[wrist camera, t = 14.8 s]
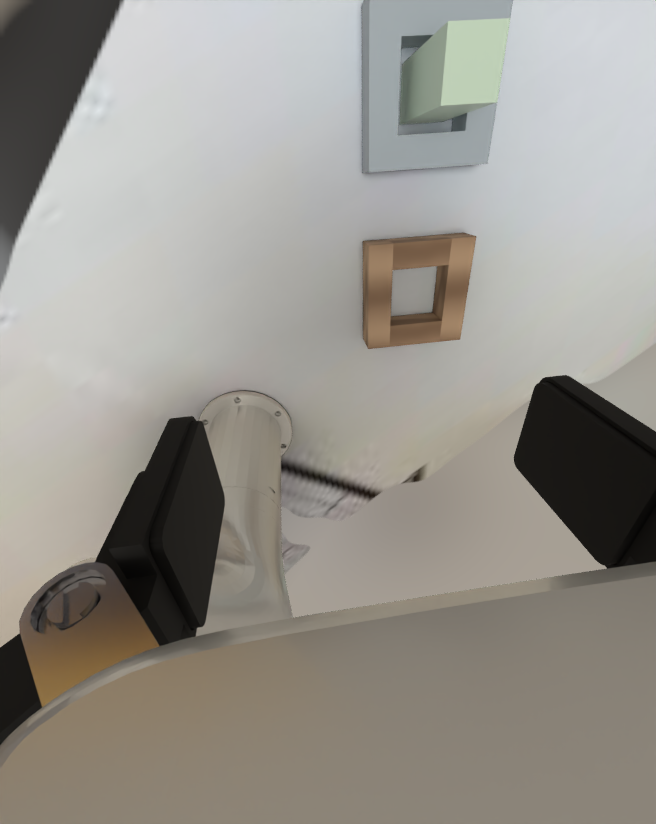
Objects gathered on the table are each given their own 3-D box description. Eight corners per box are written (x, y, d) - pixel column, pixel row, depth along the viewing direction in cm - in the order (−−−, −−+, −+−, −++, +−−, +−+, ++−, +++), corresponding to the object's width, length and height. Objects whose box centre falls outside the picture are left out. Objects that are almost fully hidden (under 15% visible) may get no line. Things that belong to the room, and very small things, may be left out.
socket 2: (449, 330, 44) (460, 339, 42) (363, 339, 44) (368, 348, 41) (463, 232, 38) (476, 236, 36) (362, 241, 37) (368, 245, 35)
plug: (441, 121, 33) (497, 102, 24) (399, 124, 32) (440, 105, 24) (447, 62, 30) (510, 18, 22) (401, 64, 30) (448, 20, 22)
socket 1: (472, 164, 35) (487, 163, 32) (362, 173, 34) (369, 172, 32) (495, -1, 29) (515, -18, 26) (361, 5, 28) (369, -12, 25)
